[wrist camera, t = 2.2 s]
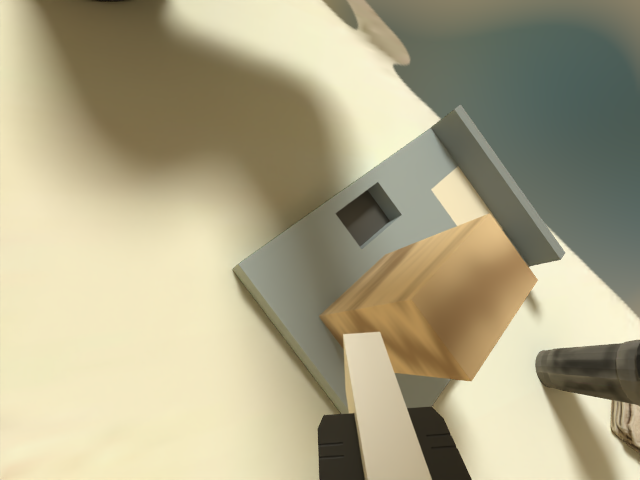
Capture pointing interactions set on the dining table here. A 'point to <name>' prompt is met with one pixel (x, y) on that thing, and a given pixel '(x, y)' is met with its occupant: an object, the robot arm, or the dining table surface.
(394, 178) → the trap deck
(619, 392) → the beverage cup
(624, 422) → the washcloth
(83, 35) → the dining table surface
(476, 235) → the oak block
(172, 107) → the dining table surface
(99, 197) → the dining table surface
